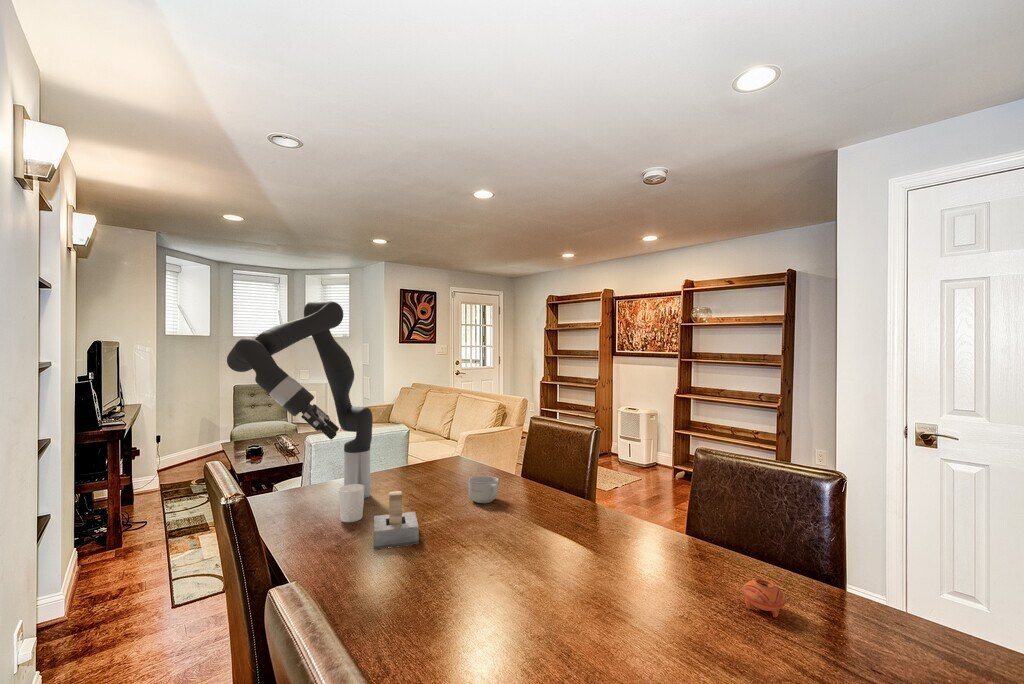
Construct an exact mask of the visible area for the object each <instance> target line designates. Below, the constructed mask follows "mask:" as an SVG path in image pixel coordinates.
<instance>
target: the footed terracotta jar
mask: <svg viewBox="0 0 1024 684" xmlns="http://www.w3.org/2000/svg"><path fill="white" fill-rule="evenodd" d="M741 592H742V593H743V595H744V601H745V606H746V608H747V609H748V610H750V609H751V606H754V607H755V608H757V609H759V610H762V611H766V612H767V611H768V612H771V614H772V617H773V618H777V617H779V613H780V609H782V608H783V607H784V606H785V604H786V602H787V600H786V596H785V595H784V593H783V592H782V590H781V589H780V588H779V587H778V586H776V585H775V583H773V582H772V581H770V580H769V579H765V578H762V577H755V578H754V579H751V580H749V581H747V582H746V583H744V585H743V586H742V588H741Z"/></svg>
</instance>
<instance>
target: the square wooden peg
mask: <svg viewBox="0 0 1024 684" xmlns="http://www.w3.org/2000/svg"><path fill="white" fill-rule="evenodd" d="M388 509H389V510H388V513H389V525H396V524H402V513H403V493H402V490H399V491H398V490H396V491H390V492H388Z"/></svg>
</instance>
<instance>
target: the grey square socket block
mask: <svg viewBox="0 0 1024 684" xmlns="http://www.w3.org/2000/svg"><path fill="white" fill-rule="evenodd" d="M419 531H420V530H419V523H418V519H417V514H416V511H409V512H407V511H406V512H402V524H396V525H389V514H381V515H374V516H373V534H374V535H373V550H374V549H378V550H382V549H381V548H386V549H389V548H388V547H393V548H398V547H397V546H401V547H407V546H406V545H409V546H414V545H413V544H416V545H419V544H420V542H419V541H420V540H419V538H420V535H419Z"/></svg>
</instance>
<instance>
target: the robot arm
mask: <svg viewBox="0 0 1024 684" xmlns="http://www.w3.org/2000/svg"><path fill="white" fill-rule="evenodd" d="M343 319H344V310H343V308H342V306H341V305H340V304H339V303H337V302H336V301H333V300H310V301H309V302H307V303H306V305H305V306H304V309H303V317H301V318H298V319H294V320H290V321H287V322H283V323H280V324H277V325H275V326H273V327H271V328H269V329H266V330H265V331H262V332H261V333H259V334H258V335H257V336H256V337H255V338H252V337H244V338H241V339H239V340H238V341H237V342H236V343H235V345H234V346H233V347H232V349H231V350H230V351H229V352H228V354H227V357H226V363H227V364H226V365H227V366H228V367H229V369H231V371H235V372H239V373H245V372H249V371H251V370H253V371H254V372H255V377H254V380H255V381H254V382H256V384H257V385H258V386H259V387H260V388H261V389H263V390H264V391H265V392H266V393H267V394H268V395H270V397H271V398H272V400H274V401H275V402H276V403H277V404H278V405H280V407H282V408H283V409H284V410H285V411H287V412H288V413H289V414H290V415H291V416H293V417H296V416H298V415H299V414H300V413H301V414H302V415H301V419H303V420H304V421H305V422H306V423H308V424H309V425H310V426H311V427H312V429H314V430H315V431H317V432H321V433H322V434H324V435H325V436H326V437H327V438H329V439H330V440H333V439H334V438H336V437H337V434H338V433H337V432H338V431H339V430H340V428H341V429H342V430H343V431H345V432H348V433H349V432H352V433H355V438H354V439H352V440H349V441H347V442H345V443H344V445H343V460H344V461H343V475H344V476H343V479H344V480H343V486H345V485H350V484H361V485H364V500H365V499H367V497H368V498H369V497H371V444H372V438H373V413H372V410H371V408H369V407H366V406H353V404H352V403H351V399H350V393H351V392H350V391H351V389H352V387H353V383H354V381H355V372H354V371H355V370H354V368H353V364H352V361H351V358H350V356H349V355H348V353H347V352H346V351H345V350H344V348H343V347H342V346H341V345H340V344H339V343H338V342H337V341H336V339H335V338H334V337H333V335H332V332H331V329H334V328H337V327H338V326H339V325H340V324H341V323H342V321H343ZM309 337H312V339H313V342H314V344H315V346H316V349H317V351H318V355H319V359H320V360H321V363H322V367H323V370H324V374H325V376H326V379H327V380H326V381H327V382H328V384H329V387H330V388H329V389H330V391H331V394H332V398H333V401H334V406H335V412H336V416H337V421H338V423H339V426H340V428H339V427H338V425H336V424H335V423H334V422H333V421H332V420H331V418H330V416H329V415H328V414H327V413H326V412H324V411H323V410H322V409H321V408H320V407H319V406H317V404H315V403H313V405H312V404H311V402H312V401H314V399H315V395H313V394H312V393H310V391H308V390H307V389H306V388H305V387H304V386H303V385H302V384H300V383H299V381H297V380H296V379H294V378H293V377H292V376H290V375H289V374H288V373H286V371H285V370H283V369H282V368H281V367H280V366H279V365H278V364H277V363H276V360H275V359H274V358H273V355H275V354H278V353H280V352H281V351H283V350H284V349H287V348H288V347H290V346H292V345H294V344H296V343H298V342H300V341H302V340H304V339H307V338H309Z"/></svg>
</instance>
